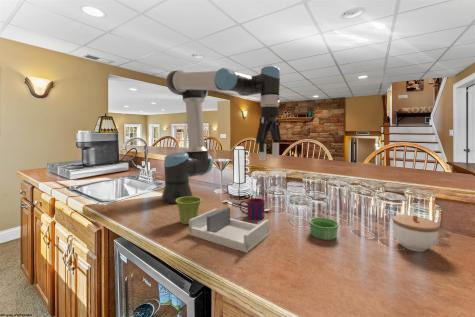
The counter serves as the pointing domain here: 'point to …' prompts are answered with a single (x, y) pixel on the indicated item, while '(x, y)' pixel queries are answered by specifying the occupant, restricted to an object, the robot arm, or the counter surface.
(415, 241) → the lidded jar
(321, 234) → the ramekin
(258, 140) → the robot arm
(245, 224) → the tray
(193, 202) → the plant pot
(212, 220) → the panel
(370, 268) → the counter surface
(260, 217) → the mug
